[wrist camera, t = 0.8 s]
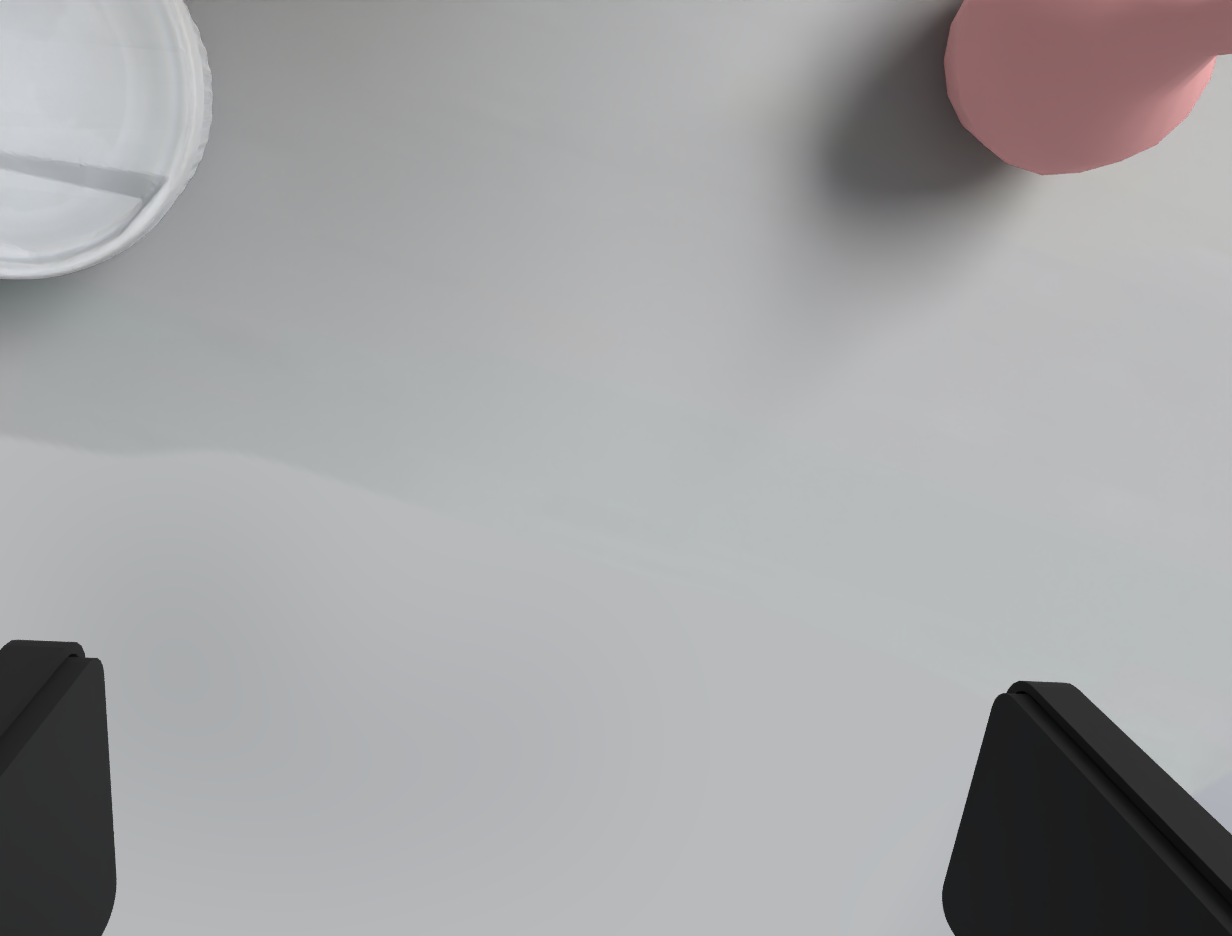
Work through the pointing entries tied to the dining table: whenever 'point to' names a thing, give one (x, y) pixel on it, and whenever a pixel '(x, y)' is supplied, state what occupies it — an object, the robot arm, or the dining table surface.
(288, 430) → the dining table surface
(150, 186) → the ramekin
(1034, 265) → the dining table surface
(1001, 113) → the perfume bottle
